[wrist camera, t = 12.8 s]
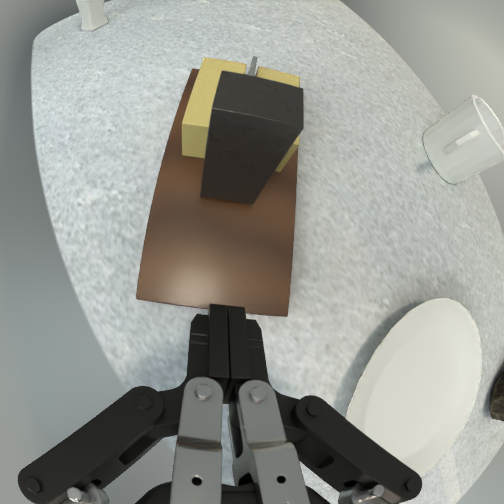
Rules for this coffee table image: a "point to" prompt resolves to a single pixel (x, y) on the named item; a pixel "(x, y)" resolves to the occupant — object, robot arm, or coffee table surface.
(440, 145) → the mug
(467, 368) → the plate
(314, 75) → the coffee table surface
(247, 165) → the knife
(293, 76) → the butter
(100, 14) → the white faceted vase
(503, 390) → the rock
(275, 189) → the slicer board
